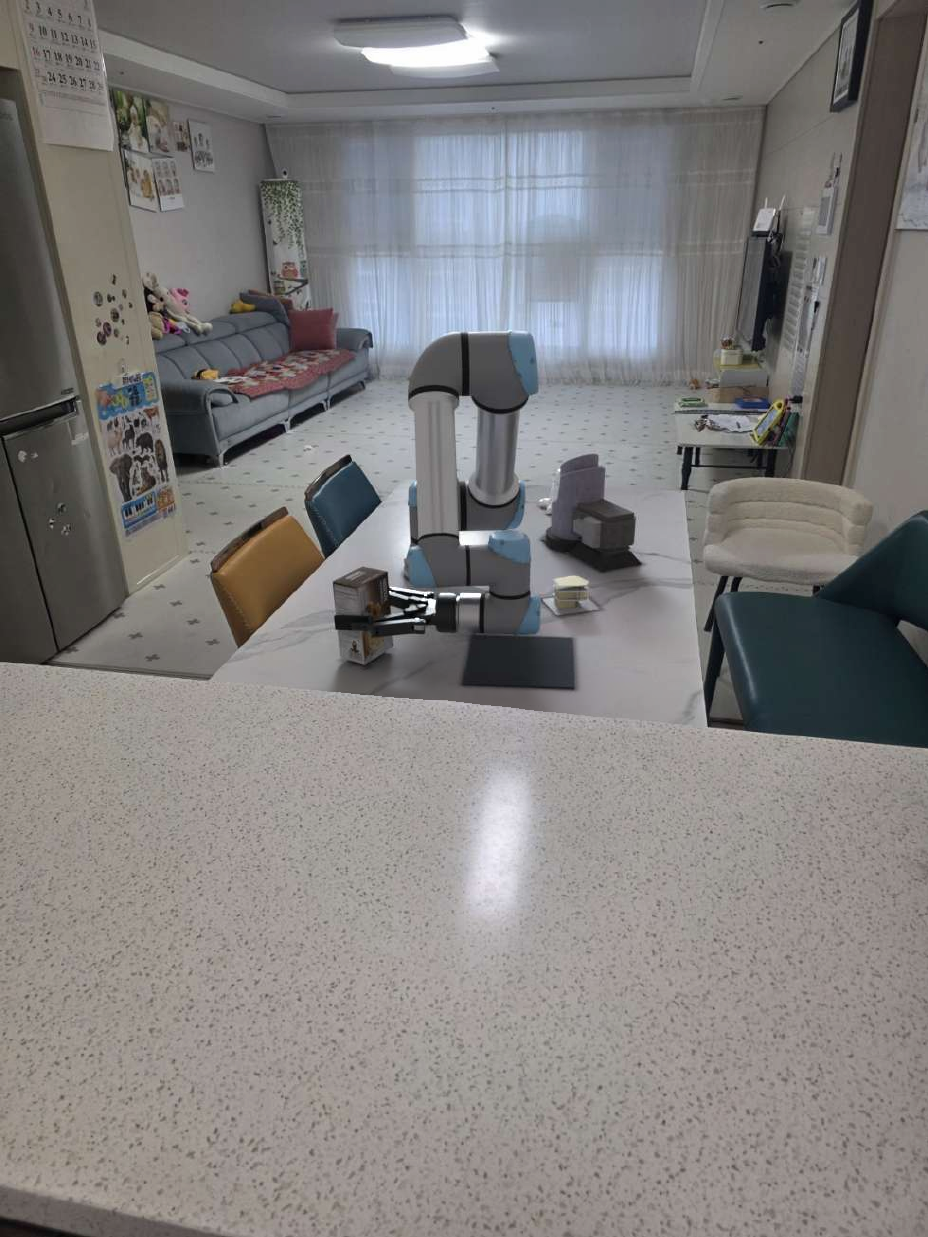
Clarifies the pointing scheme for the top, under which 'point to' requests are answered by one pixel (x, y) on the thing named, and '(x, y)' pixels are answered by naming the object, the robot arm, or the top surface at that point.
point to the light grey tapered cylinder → (468, 590)
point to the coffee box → (362, 612)
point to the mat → (520, 662)
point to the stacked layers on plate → (570, 596)
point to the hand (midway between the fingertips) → (342, 609)
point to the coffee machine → (590, 518)
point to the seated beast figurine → (552, 493)
